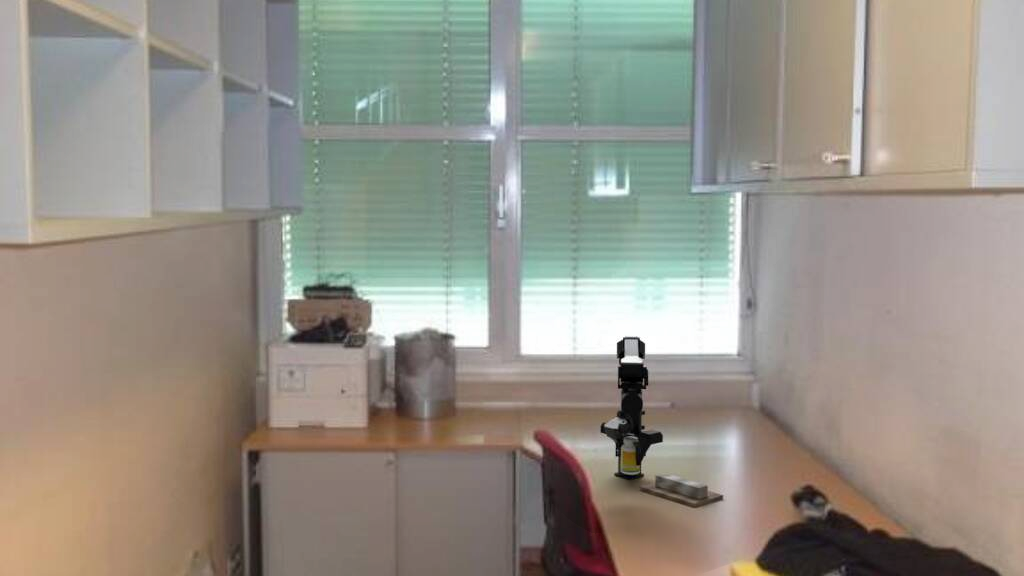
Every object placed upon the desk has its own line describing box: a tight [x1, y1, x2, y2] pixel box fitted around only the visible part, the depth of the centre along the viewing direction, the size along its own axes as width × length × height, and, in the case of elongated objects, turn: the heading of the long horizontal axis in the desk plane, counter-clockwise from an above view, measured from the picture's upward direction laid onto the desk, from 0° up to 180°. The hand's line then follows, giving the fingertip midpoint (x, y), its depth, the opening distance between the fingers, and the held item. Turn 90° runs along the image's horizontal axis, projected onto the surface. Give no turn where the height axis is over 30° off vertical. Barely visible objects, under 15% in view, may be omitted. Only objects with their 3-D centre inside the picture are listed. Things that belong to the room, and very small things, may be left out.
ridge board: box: [639, 472, 724, 508], centre depth 279 cm, size 20×12×4 cm, turn 39°
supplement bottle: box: [621, 436, 640, 475], centre depth 274 cm, size 5×5×10 cm
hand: (630, 463), depth 274 cm, fingers closed on supplement bottle, 5 cm apart
